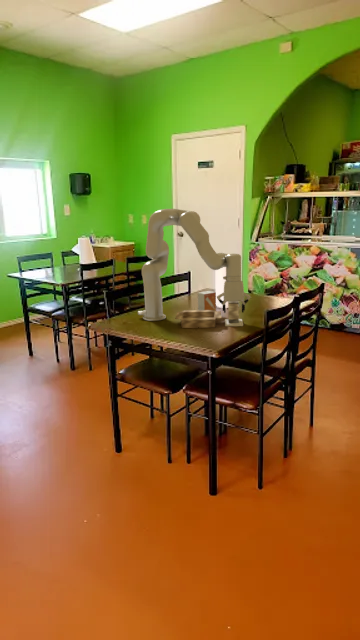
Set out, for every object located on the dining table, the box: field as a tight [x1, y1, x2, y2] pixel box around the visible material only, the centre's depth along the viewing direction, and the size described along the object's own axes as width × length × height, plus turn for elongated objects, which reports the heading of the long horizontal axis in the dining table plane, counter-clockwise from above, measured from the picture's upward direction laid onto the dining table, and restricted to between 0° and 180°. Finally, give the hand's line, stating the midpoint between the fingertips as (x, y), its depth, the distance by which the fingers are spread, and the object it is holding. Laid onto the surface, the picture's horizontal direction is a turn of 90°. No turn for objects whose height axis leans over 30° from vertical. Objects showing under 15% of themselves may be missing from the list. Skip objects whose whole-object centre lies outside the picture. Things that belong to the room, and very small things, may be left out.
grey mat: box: [224, 318, 244, 327], centre depth 225 cm, size 9×10×1 cm
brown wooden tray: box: [174, 309, 222, 329], centre depth 226 cm, size 23×19×5 cm
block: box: [227, 301, 240, 323], centre depth 224 cm, size 5×6×10 cm
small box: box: [197, 290, 217, 311], centre depth 242 cm, size 8×6×13 cm
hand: (233, 311), depth 224 cm, fingers open, 8 cm apart
